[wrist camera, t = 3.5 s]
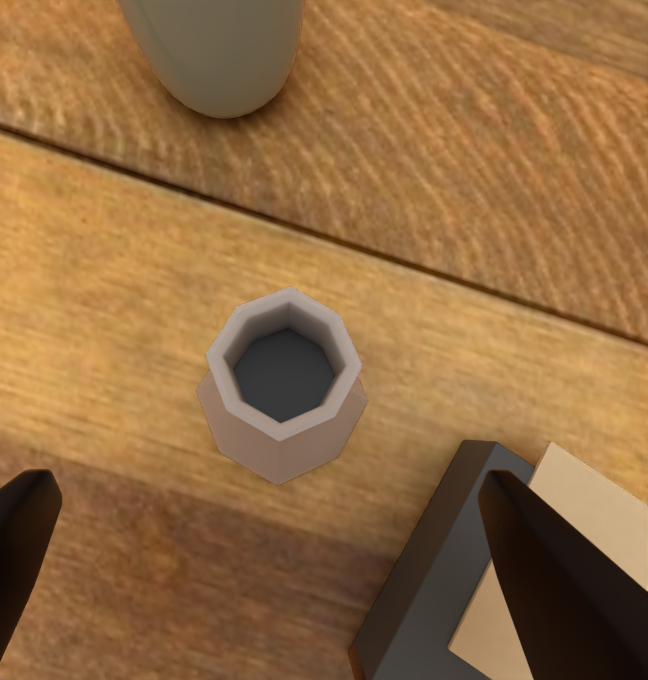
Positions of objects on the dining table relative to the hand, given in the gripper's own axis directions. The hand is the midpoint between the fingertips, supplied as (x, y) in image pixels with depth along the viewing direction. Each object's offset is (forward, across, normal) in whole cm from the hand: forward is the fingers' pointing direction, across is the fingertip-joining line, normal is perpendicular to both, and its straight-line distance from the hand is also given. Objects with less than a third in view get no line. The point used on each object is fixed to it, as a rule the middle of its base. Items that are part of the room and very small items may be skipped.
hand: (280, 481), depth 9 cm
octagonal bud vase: (+9, 0, +5) cm, 10 cm away
